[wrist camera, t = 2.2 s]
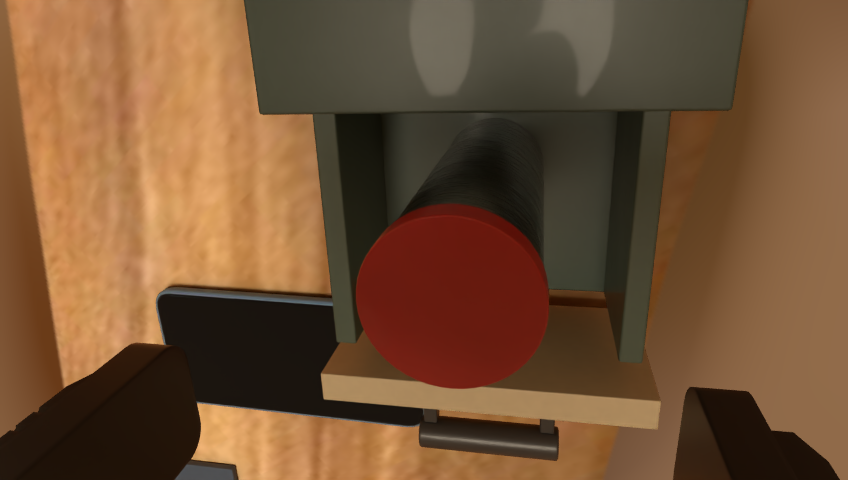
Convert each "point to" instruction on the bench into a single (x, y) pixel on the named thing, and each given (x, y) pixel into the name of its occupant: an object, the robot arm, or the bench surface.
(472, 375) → the spice tin
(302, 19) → the cabinet
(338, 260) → the drawer
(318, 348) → the smartphone
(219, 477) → the mat
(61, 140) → the bench surface
